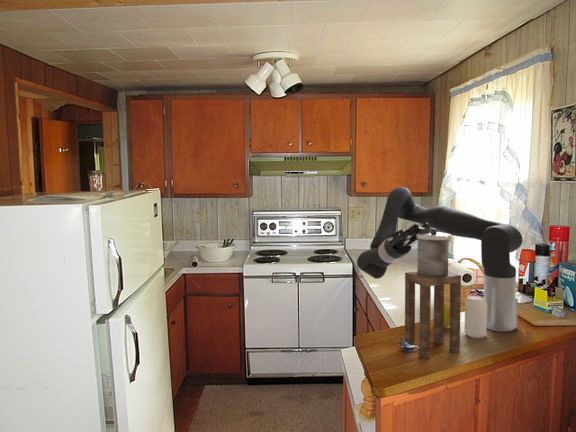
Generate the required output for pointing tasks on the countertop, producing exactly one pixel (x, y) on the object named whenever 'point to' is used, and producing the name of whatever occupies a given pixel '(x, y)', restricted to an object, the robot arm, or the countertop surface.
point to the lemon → (446, 315)
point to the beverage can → (475, 316)
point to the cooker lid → (431, 234)
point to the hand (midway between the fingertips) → (422, 226)
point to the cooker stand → (434, 274)
